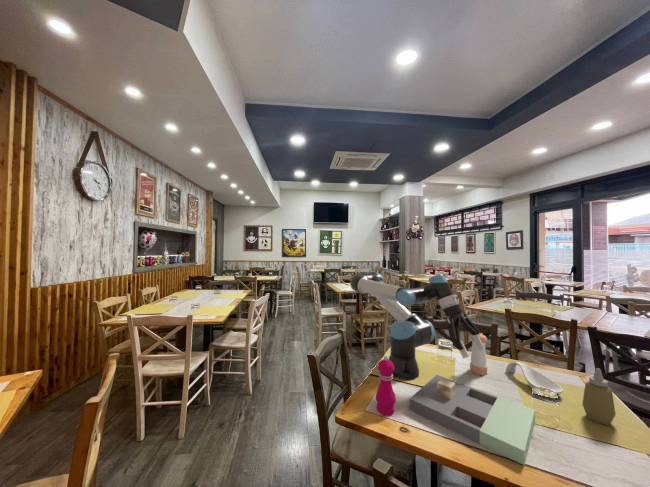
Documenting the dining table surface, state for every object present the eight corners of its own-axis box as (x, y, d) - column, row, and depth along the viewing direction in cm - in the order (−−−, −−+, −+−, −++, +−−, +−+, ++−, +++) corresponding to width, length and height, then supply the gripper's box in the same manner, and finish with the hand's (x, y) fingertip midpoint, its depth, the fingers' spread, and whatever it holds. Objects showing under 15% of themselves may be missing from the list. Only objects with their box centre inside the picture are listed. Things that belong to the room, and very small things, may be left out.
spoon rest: (570, 399, 103) (570, 382, 103) (544, 401, 102) (544, 383, 102) (520, 371, 126) (520, 357, 127) (498, 372, 125) (498, 357, 125)
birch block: (436, 394, 98) (437, 382, 98) (441, 389, 101) (441, 378, 102) (450, 399, 94) (450, 387, 94) (455, 394, 98) (455, 382, 98)
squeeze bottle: (577, 415, 93) (577, 366, 93) (588, 410, 96) (588, 362, 96) (609, 430, 85) (608, 376, 86) (620, 423, 88) (619, 372, 89)
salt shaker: (467, 367, 129) (467, 329, 130) (482, 368, 128) (483, 330, 129) (473, 374, 122) (474, 334, 122) (490, 375, 121) (490, 335, 121)
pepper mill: (382, 401, 99) (383, 350, 99) (399, 410, 94) (399, 356, 94) (371, 410, 94) (372, 355, 94) (388, 419, 89) (389, 362, 89)
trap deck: (409, 409, 95) (409, 398, 95) (436, 383, 113) (436, 374, 113) (524, 465, 71) (524, 451, 71) (535, 421, 89) (535, 409, 89)
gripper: (441, 307, 109) (467, 359, 100) (471, 300, 123) (496, 345, 114) (428, 312, 114) (451, 362, 105) (458, 305, 128) (480, 348, 119)
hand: (474, 353), depth 110 cm, fingers open, 13 cm apart
